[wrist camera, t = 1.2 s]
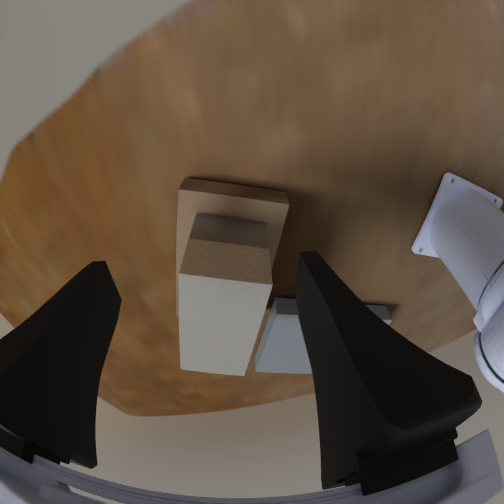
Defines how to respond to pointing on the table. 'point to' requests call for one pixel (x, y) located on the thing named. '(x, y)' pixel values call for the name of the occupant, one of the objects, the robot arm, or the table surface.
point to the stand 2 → (290, 339)
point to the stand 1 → (228, 211)
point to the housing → (222, 293)
